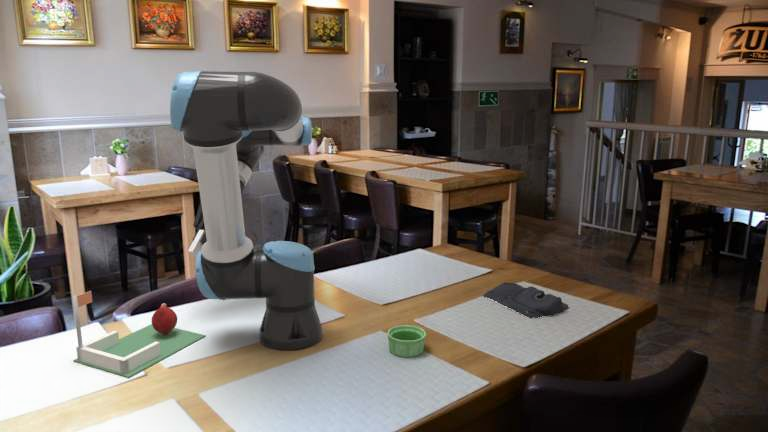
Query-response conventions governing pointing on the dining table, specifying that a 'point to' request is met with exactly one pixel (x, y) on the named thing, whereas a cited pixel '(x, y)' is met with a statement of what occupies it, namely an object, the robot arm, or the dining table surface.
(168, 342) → the felt mat
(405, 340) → the ramekin
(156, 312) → the onion
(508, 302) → the dark grey lumpy slab
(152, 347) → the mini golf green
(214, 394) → the dining table surface
